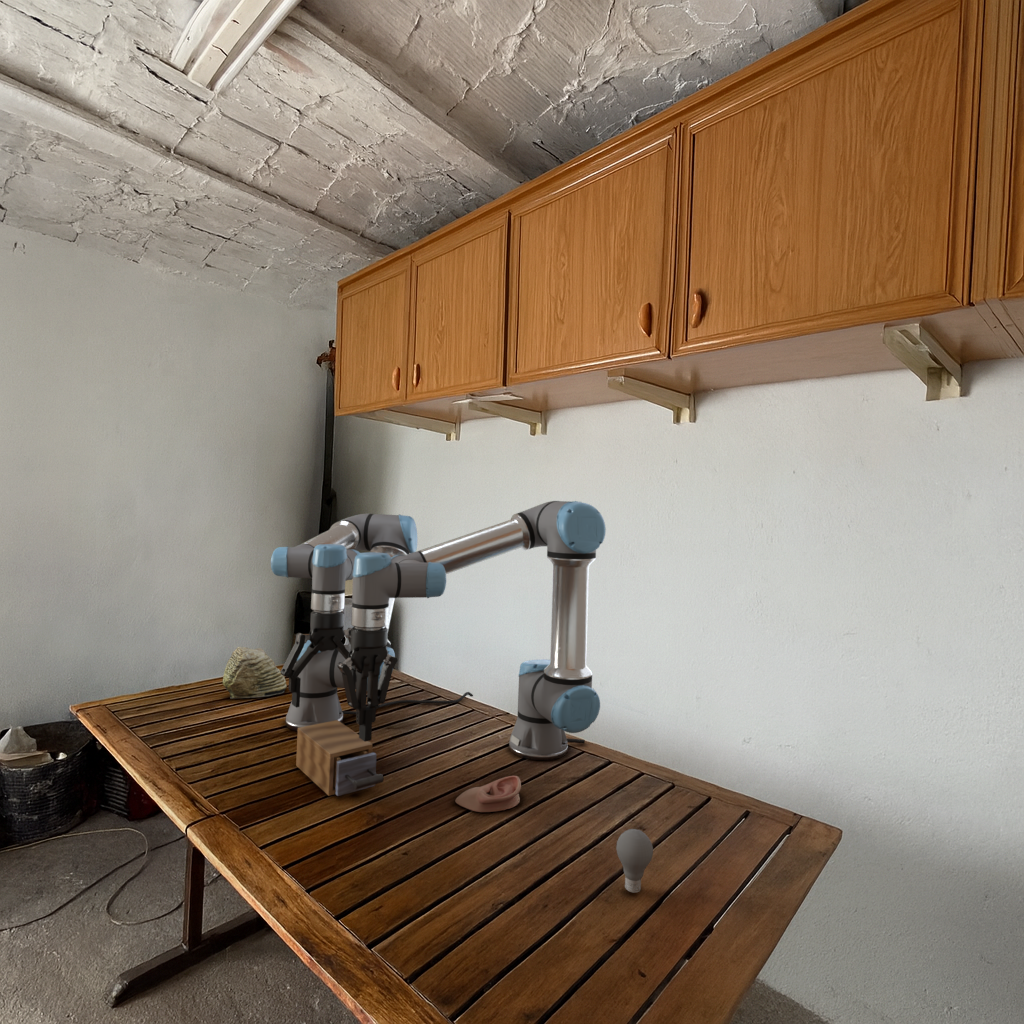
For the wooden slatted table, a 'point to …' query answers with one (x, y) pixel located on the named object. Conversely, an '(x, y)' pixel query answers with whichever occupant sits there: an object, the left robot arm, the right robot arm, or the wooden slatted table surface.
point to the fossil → (252, 674)
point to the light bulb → (634, 857)
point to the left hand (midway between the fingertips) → (324, 700)
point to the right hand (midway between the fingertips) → (365, 738)
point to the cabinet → (326, 750)
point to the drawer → (355, 772)
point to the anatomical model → (492, 795)
